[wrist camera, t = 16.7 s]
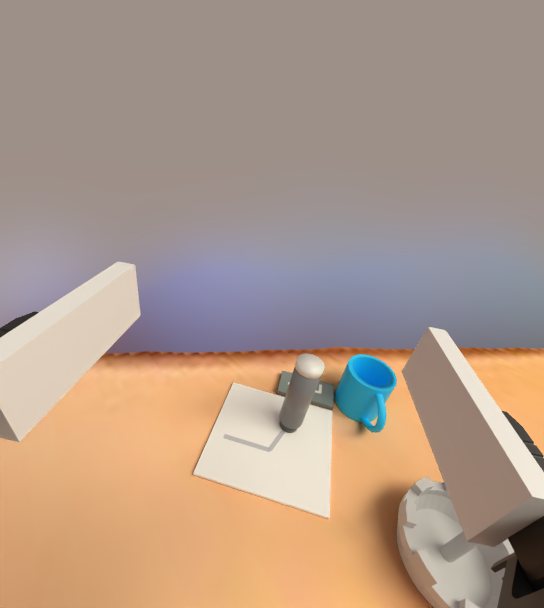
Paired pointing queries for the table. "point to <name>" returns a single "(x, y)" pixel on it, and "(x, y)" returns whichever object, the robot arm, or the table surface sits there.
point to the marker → (300, 391)
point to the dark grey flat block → (321, 396)
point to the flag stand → (446, 551)
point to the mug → (365, 390)
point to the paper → (270, 451)
